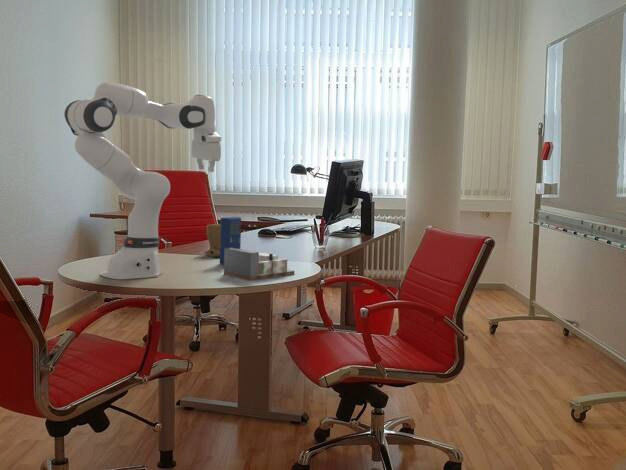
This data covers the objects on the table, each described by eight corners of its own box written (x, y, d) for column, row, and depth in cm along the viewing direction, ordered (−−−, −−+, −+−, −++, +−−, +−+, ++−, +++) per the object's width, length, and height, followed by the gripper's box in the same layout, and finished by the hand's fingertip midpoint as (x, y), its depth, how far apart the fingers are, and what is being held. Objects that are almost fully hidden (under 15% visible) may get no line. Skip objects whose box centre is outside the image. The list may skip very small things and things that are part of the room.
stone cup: (213, 252, 313) (213, 221, 311) (235, 254, 309) (236, 223, 307) (197, 256, 298) (198, 223, 297) (220, 258, 294) (221, 225, 293)
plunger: (271, 272, 251) (272, 256, 250) (251, 268, 259) (251, 253, 258) (282, 271, 256) (283, 255, 255) (261, 267, 263) (262, 252, 263)
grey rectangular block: (250, 277, 242) (251, 253, 241) (223, 271, 252) (224, 248, 251) (258, 275, 245) (258, 252, 244) (231, 270, 255) (232, 247, 254)
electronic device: (228, 265, 276) (229, 218, 273) (218, 264, 278) (219, 217, 276) (241, 263, 284) (242, 217, 282) (231, 261, 286) (232, 216, 284)
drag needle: (271, 260, 250) (271, 254, 249) (269, 259, 251) (269, 253, 250) (272, 260, 250) (272, 254, 250) (270, 259, 251) (270, 253, 251)
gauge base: (250, 280, 242) (250, 263, 241) (223, 275, 252) (224, 258, 251) (294, 274, 260) (294, 258, 259) (268, 269, 270) (268, 253, 269)
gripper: (186, 135, 267) (188, 168, 270) (208, 138, 251) (209, 173, 254) (201, 134, 271) (202, 167, 274) (223, 137, 254) (224, 172, 257)
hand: (206, 170), depth 264 cm, fingers open, 8 cm apart
